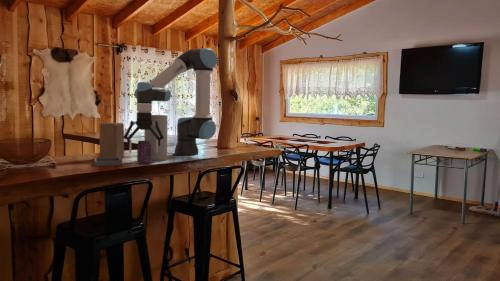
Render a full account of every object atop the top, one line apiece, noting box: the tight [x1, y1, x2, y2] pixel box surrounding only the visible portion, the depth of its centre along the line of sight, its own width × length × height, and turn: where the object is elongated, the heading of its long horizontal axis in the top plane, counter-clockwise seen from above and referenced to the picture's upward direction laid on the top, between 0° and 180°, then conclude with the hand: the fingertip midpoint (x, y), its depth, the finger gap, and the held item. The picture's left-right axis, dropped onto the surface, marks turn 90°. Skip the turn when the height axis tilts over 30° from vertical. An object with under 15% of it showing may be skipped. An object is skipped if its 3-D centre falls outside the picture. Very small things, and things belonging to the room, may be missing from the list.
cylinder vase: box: [144, 114, 168, 162], centre depth 226 cm, size 12×12×25 cm
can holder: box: [93, 157, 123, 168], centre depth 207 cm, size 13×13×2 cm
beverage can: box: [136, 140, 152, 165], centre depth 212 cm, size 7×7×12 cm
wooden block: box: [99, 122, 125, 159], centre depth 227 cm, size 10×10×20 cm
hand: (143, 152), depth 212 cm, fingers open, 13 cm apart
